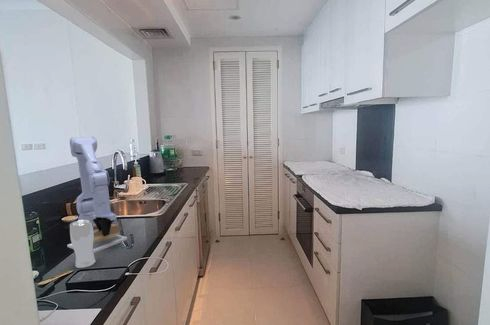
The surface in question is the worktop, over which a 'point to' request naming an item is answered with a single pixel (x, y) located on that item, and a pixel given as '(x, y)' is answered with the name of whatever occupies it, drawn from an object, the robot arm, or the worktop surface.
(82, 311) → the worktop surface
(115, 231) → the wood collar
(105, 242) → the post stand
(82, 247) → the beer glass
